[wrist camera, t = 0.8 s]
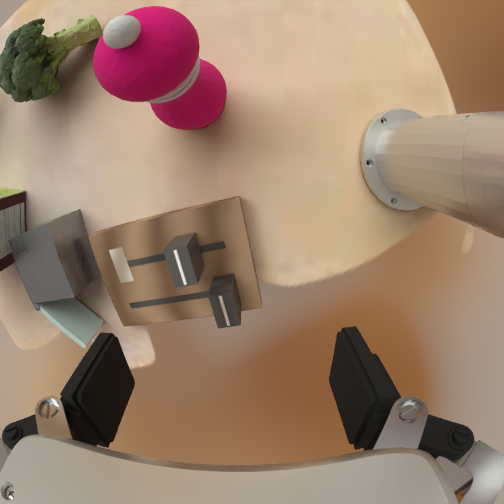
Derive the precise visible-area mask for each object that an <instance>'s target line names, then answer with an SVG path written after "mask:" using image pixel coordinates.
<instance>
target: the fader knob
mask: <svg viewBox="0 0 504 504" xmlns="http://www.w3.org/2000/svg"><path fill="white" fill-rule="evenodd" d="M163 252H164V255H165V258H166V262H167V265H168V268H169V271H170V274H171V277H172V280H173V283H174V286H175V288H178V287H184V286H190V285H196V284H198V283H199V280H200V277H201V275H202V272H203V269H204V267H205V266H204V262H203V259H202V255H201V252H200V248H199V244H198V240H197V237H196V233H195V232H194V233H190V234H185V235H181V236H176V237H174V238H173V239H172V240H171V242H170V243H169V244H168V245H167V246H166V247H165V249H164V250H163Z"/></svg>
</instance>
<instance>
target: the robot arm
mask: <svg viewBox="0 0 504 504" xmlns="http://www.w3.org/2000/svg"><path fill="white" fill-rule="evenodd" d="M381 121H382V123H381ZM360 161H361V168H362V172H363V176H364V178H365V180H366V183H367V185H368V186H369V188H370V189H371V191H372V192H373V194H374V195H375V196H376V197H377V198H378V199H379V200H380V201H382V202H383V203H384V204H386V205H388V206H390V207H392V208H395V209H398V210H404V211H410V210H416V209H418V208H421V207H423V206H426V207H429V208H432V209H434V210H437V211H439V212H442V213H445V214H447V215H450V216H452V217H454V218H457V219H459V220H461V221H464V222H466V223H468V224H471V225H473V226H475V227H478V228H480V229H482V230H484V231H487V232H489V233H491V234H493V235H495V236H498V237H501V238H504V112H484V113H467V114H454V115H444V116H435V117H426V118H423V117H422V116H420V115H419V114H417V113H416V112H413V111H410V110H407V109H392V110H388V111H385V112H383V113H381V114H379V115H378V116H376V117H375V118H374V119H373V120H372V121H371V122H370V124H369V125H368V126H367V128H366V130H365V132H364V135H363V138H362V142H361V147H360ZM367 161H368V165H367V164H366V162H367ZM391 199H392V201H391ZM329 381H330V386H331V389H332V392H333V395H334V398H335V401H336V404H337V407H338V410H339V413H340V416H341V419H342V422H343V426H344V429H345V432H346V435H347V438H348V441H349V443H350V444H354V447H355V450H356V449H360V448H364V451H361V452H356V453H350V454H344V455H339V456H334V457H328V458H322V459H314V460H307V461H299V462H290V463H279V464H265V465H208V464H192V463H182V462H174V461H166V460H159V459H152V458H146V457H141V456H135V455H130V454H126V453H121V452H117V451H113V450H109V449H104V448H100V447H97V444H98V445H100V446H103V447H107V448H108V447H109V444H110V442H113V441H114V438H115V435H116V433H117V430H118V427H119V424H120V422H121V419H122V417H123V414H124V411H125V408H126V406H127V404H128V401H129V399H130V396H131V393H132V391H133V388H134V385H135V382H134V378H133V376H132V374H131V371H130V369H129V366H128V364H127V361H126V359H125V356H124V353H123V351H122V348H121V345H120V343H119V340H118V338H117V337H115V335H114V334H112V333H100V334H99V335H98V337H97V338H96V340H95V341H94V343H93V344H92V345H91V347H90V348H89V350H88V352H87V353H86V354H85V356H84V357H83V359H82V360H81V362H80V363H79V365H78V367H77V368H76V370H75V371H74V373H73V374H72V376H71V378H70V379H69V381H68V382H67V384H66V385H65V387H64V389H63V390H62V392H61V396H62V397H61V398H60V399H58V398H57V397H55V396H48V397H45V398H43V399H41V400H40V401H39V402H38V404H37V405H36V408H35V415H32V416H30V417H27V418H24V419H22V420H19V421H16V422H13V423H11V424H9V425H7V426H6V427H5V429H4V431H3V434H2V439H1V438H0V504H493V503H494V501H495V499H496V498H497V496H498V494H499V492H500V490H501V488H502V487H503V485H504V455H503V454H501V453H500V452H498V451H496V450H495V449H493V448H491V447H490V446H488V445H486V444H485V443H483V442H482V441H480V440H479V441H478V442H476V441H474V436H473V433H472V431H471V430H470V429H469V428H468V427H466V426H464V425H461V424H458V423H454V422H451V421H448V420H444V419H441V418H438V417H435V416H432V415H429V414H428V408H427V406H426V404H425V403H424V402H423V401H422V400H421V399H419V398H416V397H412V396H407V397H403V398H401V396H400V394H399V393H398V391H397V389H396V387H395V385H394V384H393V382H392V380H391V378H390V376H389V375H388V373H387V371H386V369H385V368H384V366H383V364H382V362H381V361H380V359H379V357H378V356H377V355H376V354H372V353H371V352H370V349H369V348H368V346H367V344H366V342H365V341H364V339H363V337H362V336H361V334H360V332H359V330H358V329H357V327H355V326H354V327H346V328H342V330H341V332H338V333H337V338H336V344H335V350H334V356H333V361H332V366H331V371H330V376H329ZM452 488H453V489H452Z"/></svg>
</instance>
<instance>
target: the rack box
mask: <svg viewBox="0 0 504 504" xmlns="http://www.w3.org/2000/svg"><path fill="white" fill-rule="evenodd" d="M8 242H9V245H10V248H11V251H12V254H13V257H14V260H15V262H16V265H17V268H18V271H19V273H20V276H21V278H22V281H23V283H24V286H25V288H26V290H27V293H28V295H29V297H30V299H31V301H32V304H33V303H40V302H46V301H53V300H60V299H66V298H72V297H75V296H76V295H77V294H78V293H80V292H81V291H82V290H83V289H84V288H85V287H86V286H87V285H88V284H89V283H90V282H91V281H92V280H93V279H94V278H95V277H97V276H98V275H99V274H100V273H101V272H100V270H99V267H98V264H97V261H96V259H95V256H94V253H93V250H92V247H91V244H90V241H89V238H88V235H87V232H86V228H85V225H84V222H83V218H82V215H81V211H80V209H79V210H76V211H74V212H71V213H69V214H66V215H63V216H61V217H58V218H56V219H53V220H51V221H49V222H46V223H44V224H41V225H39V226H37V227H35V228H33V229H31V230H28V231H26V232H24V233H22V234H20V235H18V236H16V237H14V238H12V239H10V240H8Z"/></svg>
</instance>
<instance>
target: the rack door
mask: <svg viewBox="0 0 504 504" xmlns="http://www.w3.org/2000/svg"><path fill="white" fill-rule="evenodd" d="M33 306H34V308H35V309H36V310H37V311H38V310H39V311H40V312H41V313H42V314H43V315H44V316H45V317H46V318H48V319H49V320H50V321H51V322H52V323H53V324H54V325H56V326H57V327H58V328H59V329H60V330H61V331H63V332H64V333H65V334H66V335H67V336H69V337H70V338H71V339H72V340H74V341H75V342H76V343H77V344H79V345H80V346H81V347H83V348H84V349H85V347H86V346H87V345H88V344H89V342H90V341H91V339H92V338H93V337H94V335H95V334H96V333H97V331H98V330H99V328H100V327H101V326H102V324H103V322H104V321H103V320H102V319H101V318H99V317H98V316H97V315H95V314H94V313H93V312H91V311H90V310H89V309H88V308H86V307H85V306H84V305H83V304H82V303H80V302H79V301H78V300H77V299H76V298H74V297H72V298H66V299H60V300H53V301H46V302H40V303H34V304H33Z"/></svg>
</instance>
